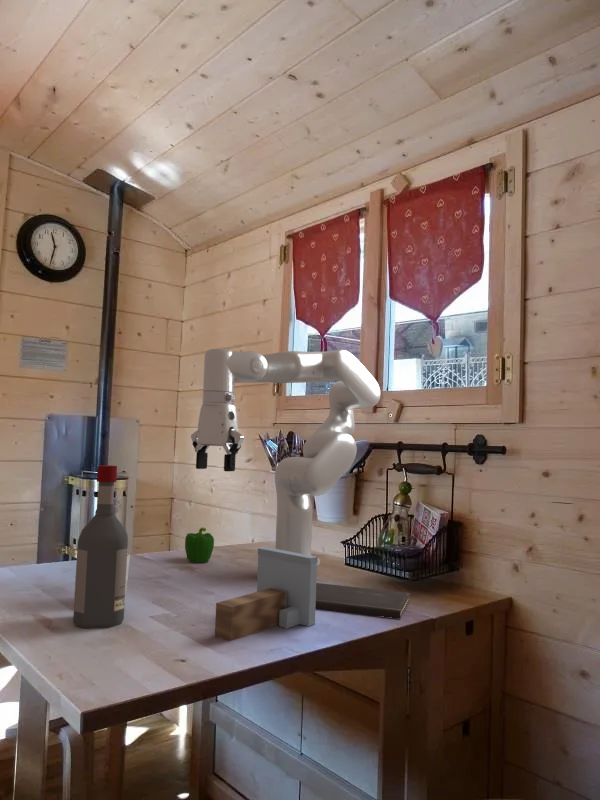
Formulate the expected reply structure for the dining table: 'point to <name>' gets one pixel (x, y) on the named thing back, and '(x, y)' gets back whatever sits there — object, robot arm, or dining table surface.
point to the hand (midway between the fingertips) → (215, 469)
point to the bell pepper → (199, 546)
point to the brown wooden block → (249, 613)
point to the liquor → (101, 561)
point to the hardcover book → (360, 600)
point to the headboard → (290, 583)
